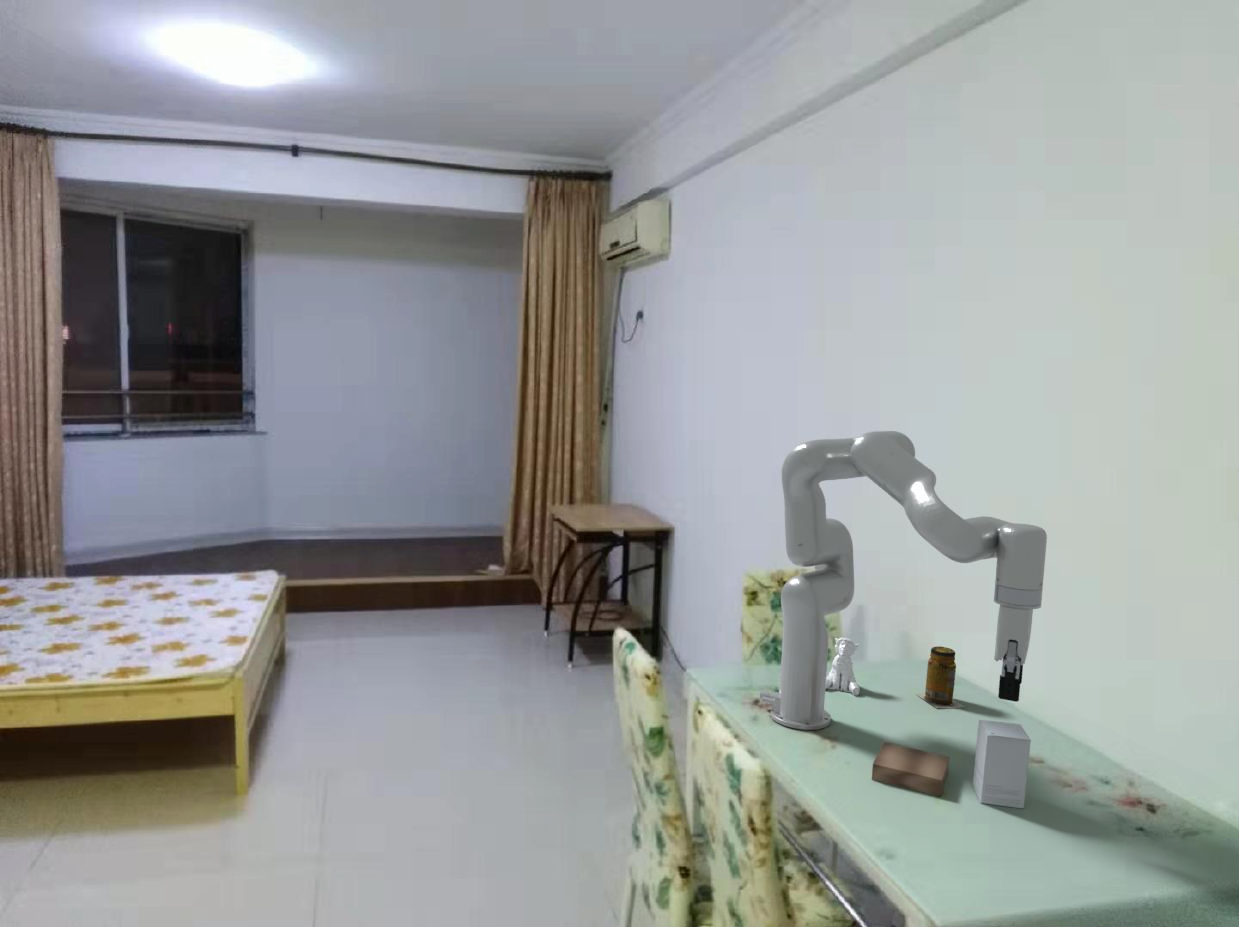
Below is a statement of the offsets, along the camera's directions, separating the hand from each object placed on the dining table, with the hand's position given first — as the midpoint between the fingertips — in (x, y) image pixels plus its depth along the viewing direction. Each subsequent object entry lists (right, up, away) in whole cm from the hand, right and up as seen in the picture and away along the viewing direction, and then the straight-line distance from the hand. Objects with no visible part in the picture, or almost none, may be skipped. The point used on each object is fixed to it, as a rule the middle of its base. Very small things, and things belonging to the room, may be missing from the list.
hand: (1010, 690), depth 154 cm
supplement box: (-1, -20, +3) cm, 20 cm away
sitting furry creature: (-16, -13, +54) cm, 58 cm away
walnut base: (-14, -18, +9) cm, 25 cm away
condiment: (+5, -15, +47) cm, 50 cm away
